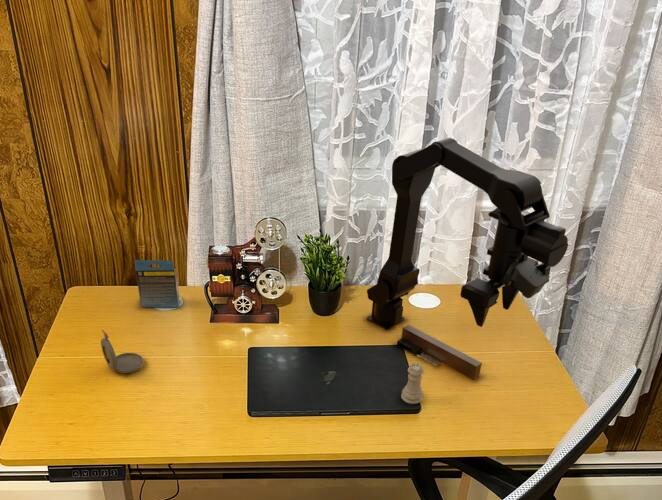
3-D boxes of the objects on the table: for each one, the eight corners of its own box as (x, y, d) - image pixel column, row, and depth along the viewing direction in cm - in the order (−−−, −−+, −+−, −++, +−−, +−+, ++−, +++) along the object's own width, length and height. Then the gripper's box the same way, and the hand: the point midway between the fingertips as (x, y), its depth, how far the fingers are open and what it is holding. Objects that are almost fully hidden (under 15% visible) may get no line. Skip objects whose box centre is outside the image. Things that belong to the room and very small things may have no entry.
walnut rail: (400, 340, 169) (402, 327, 167) (406, 337, 170) (408, 324, 168) (473, 380, 159) (476, 366, 157) (479, 376, 160) (482, 362, 158)
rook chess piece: (416, 408, 151) (421, 375, 146) (397, 400, 153) (401, 368, 148) (426, 396, 154) (431, 364, 149) (406, 389, 156) (411, 357, 151)
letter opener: (396, 345, 168) (397, 340, 167) (401, 342, 169) (402, 337, 168) (435, 366, 162) (436, 362, 161) (440, 363, 163) (441, 358, 162)
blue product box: (180, 299, 180) (175, 252, 172) (178, 308, 177) (173, 260, 169) (142, 299, 179) (135, 252, 171) (140, 308, 176) (133, 260, 168)
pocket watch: (150, 361, 161) (144, 321, 154) (126, 382, 155) (119, 342, 148) (118, 351, 163) (111, 311, 156) (94, 372, 157) (85, 331, 151)
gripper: (518, 278, 131) (500, 352, 141) (572, 244, 141) (552, 315, 152) (465, 255, 137) (452, 328, 147) (521, 224, 147) (505, 294, 157)
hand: (492, 317), depth 151 cm, fingers open, 9 cm apart
